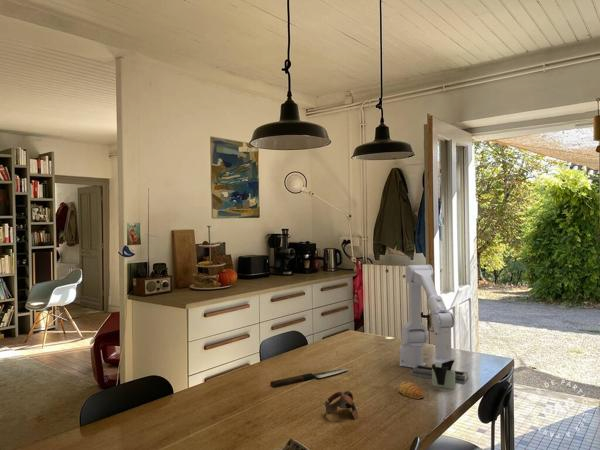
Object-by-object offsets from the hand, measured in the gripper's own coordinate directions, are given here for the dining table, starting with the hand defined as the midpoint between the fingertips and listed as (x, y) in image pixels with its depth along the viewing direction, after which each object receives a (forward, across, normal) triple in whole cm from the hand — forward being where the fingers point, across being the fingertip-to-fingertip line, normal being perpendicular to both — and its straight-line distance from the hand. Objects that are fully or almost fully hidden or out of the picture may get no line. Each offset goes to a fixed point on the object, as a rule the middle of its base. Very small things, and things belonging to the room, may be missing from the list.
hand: (443, 381), depth 170 cm
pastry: (+2, -13, +8) cm, 16 cm away
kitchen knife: (+2, -17, +46) cm, 49 cm away
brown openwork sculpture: (+2, -41, +21) cm, 46 cm away
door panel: (+2, 0, 0) cm, 2 cm away
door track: (+2, +10, +4) cm, 11 cm away
